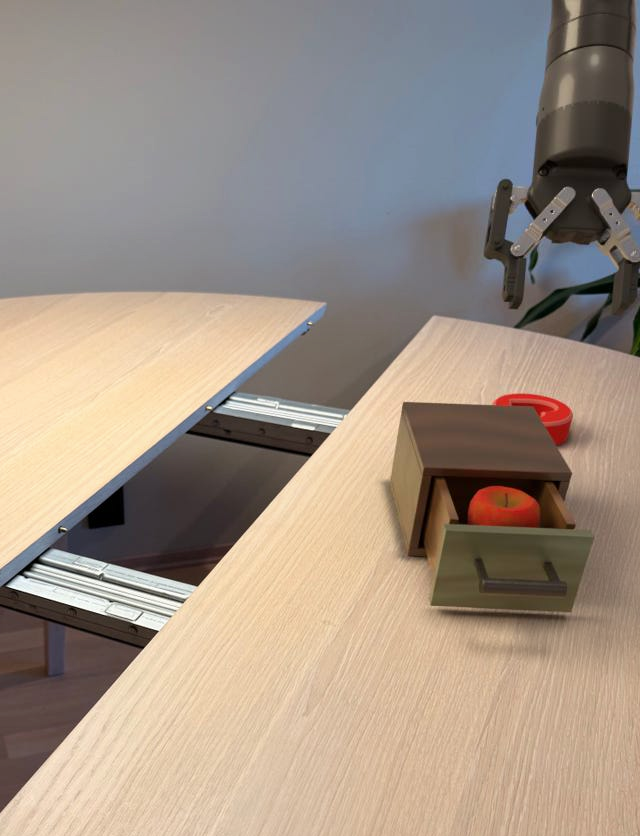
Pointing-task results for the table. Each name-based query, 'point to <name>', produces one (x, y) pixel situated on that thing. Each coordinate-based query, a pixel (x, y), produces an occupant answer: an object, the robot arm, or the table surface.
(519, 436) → the cabinet
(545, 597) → the drawer
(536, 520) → the apple
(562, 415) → the decorative ornament
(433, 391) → the table surface
